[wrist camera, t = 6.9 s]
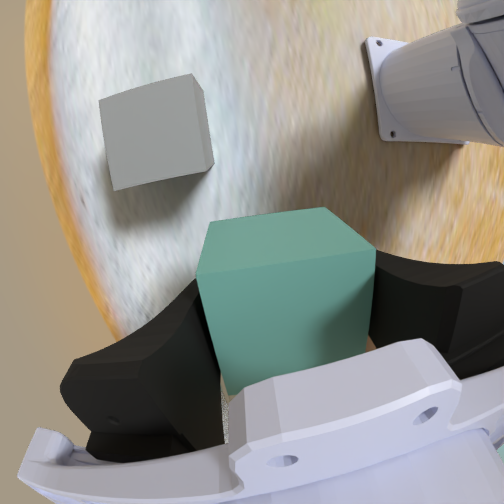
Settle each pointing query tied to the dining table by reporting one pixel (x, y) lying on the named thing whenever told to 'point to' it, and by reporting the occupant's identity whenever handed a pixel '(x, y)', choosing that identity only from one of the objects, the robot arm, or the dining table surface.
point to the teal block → (284, 293)
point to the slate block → (156, 132)
